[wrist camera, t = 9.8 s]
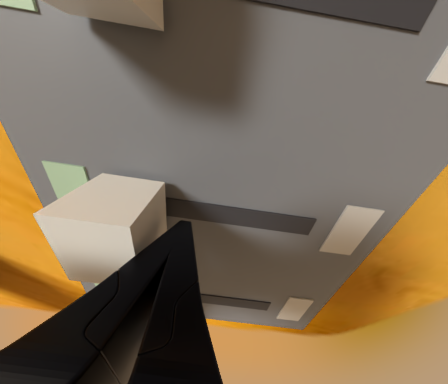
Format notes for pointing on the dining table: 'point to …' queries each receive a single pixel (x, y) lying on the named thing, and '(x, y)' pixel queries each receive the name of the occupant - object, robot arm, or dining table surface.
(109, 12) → the block
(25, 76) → the grey slider switch panel
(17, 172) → the dining table surface
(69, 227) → the block
